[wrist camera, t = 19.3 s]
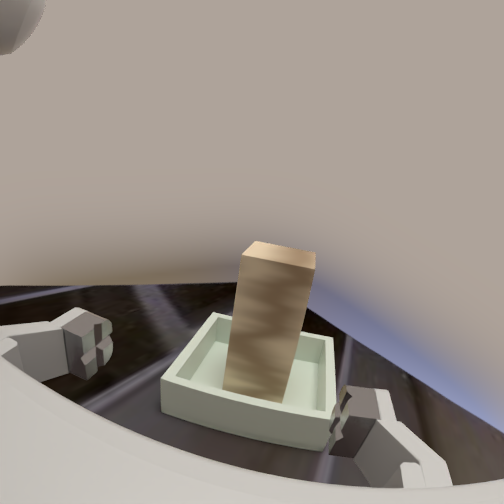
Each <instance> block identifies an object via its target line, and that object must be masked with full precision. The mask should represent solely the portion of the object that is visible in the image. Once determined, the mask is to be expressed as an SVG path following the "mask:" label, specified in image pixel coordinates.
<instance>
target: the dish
mask: <svg viewBox="0 0 504 504" xmlns="http://www.w3.org/2000/svg"><path fill="white" fill-rule="evenodd" d="M231 324H232V317H231V316H227V315H223V314H219V313H214V312H213V313H212V314H211V316H210V317H209V318H208V319H207V321H206V322H205V323H204V324H203V326H202V327H201V328H200V330H199V331H198V332H197V333H196V335H195V336H194V337H193V338H192V340H191V341H190V342H189V343H188V345H187V346H186V347H185V348H184V350H183V351H182V352H181V354H180V355H179V356H178V357H177V359H176V360H175V361H174V362H173V364H172V365H171V366H170V367H169V369H168V370H167V371H166V372H165V374H164V375H163V376H162V377H161V412H162V413H165V414H168V415H171V416H174V417H177V418H180V419H183V420H186V421H189V422H192V423H196V424H199V425H202V426H205V427H209V428H212V429H216V430H219V431H223V432H227V433H231V434H235V435H239V436H243V437H247V438H251V439H255V440H260V441H264V442H269V443H274V444H279V445H284V446H290V447H295V448H301V449H307V450H314V451H321V452H323V450H324V447H325V445H326V443H327V441H328V439H329V437H330V434H331V432H330V431H329V422H330V417H331V414H332V411H333V408H334V406H335V404H336V384H335V364H334V347H333V338H331V337H326V336H321V335H315V334H310V333H305V332H301V333H300V337H299V341H298V345H297V349H296V353H295V357H294V360H293V364H292V368H291V372H290V376H289V379H288V383H287V387H286V390H285V394H284V397H283V401H282V404H281V403H276V402H271V401H267V400H262V399H258V398H253V397H249V396H245V395H241V394H237V393H233V392H229V391H225V390H222V388H223V380H224V373H225V366H226V359H227V352H228V345H229V338H230V331H231Z"/></svg>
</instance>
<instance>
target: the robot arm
mask: <svg viewBox="0 0 504 504" xmlns="http://www.w3.org/2000/svg"><path fill="white" fill-rule="evenodd" d="M45 4H46V0H0V55H5V54H11V53H12V52H14V51H15V50H16V49H17V48H19V47H20V46H21V45H22V44H23V43H24V42H25V41H26V40H27V39H28V38H29V37H30V35H31V34H32V33H33V31H34V30H35V28H36V27H37V25H38V23H39V21H40V19H41V17H42V15H43V12H44V8H45ZM111 332H112V323H111V322H110V321H109V320H107V319H105V318H102V317H100V316H98V315H95V314H93V313H90V312H88V311H86V310H83V309H81V308H76V307H75V308H74V309H72V310H70V311H69V312H67V313H65V314H63V315H62V316H60V317H58V318H57V319H55V320H53V321H52V322H48V321H45V322H36V323H27V324H17V325H7V326H0V504H504V479H501V480H495V481H489V482H482V483H475V484H467V485H457V486H453V485H452V481H451V478H450V474H449V471H448V468H447V465H446V462H445V461H444V460H443V459H442V458H441V457H440V456H439V455H437V454H436V453H435V452H434V451H433V450H432V449H431V448H429V447H428V446H427V445H426V444H425V443H424V442H423V441H422V440H420V439H419V438H418V437H417V436H416V435H415V434H414V433H413V432H411V431H410V430H409V429H408V428H407V427H406V426H405V425H404V424H402V423H401V422H397V421H396V417H395V413H394V409H393V405H392V402H391V398H390V394H389V391H387V390H382V389H370V388H363V387H356V386H349V385H344V386H343V387H342V389H341V391H340V394H339V400H340V402H338V403H336V404H335V406H334V408H333V411H332V414H331V417H330V422H329V431H330V432H331V434H332V435H331V437H330V439H329V455H333V456H340V457H347V458H354V459H353V460H354V461H355V463H356V464H357V466H358V467H359V469H360V470H361V472H362V473H363V475H364V476H365V478H366V479H367V481H368V482H369V483H370V485H371V486H372V487H356V486H344V485H334V484H325V483H317V482H310V481H303V480H296V479H291V478H285V477H280V476H275V475H270V474H265V473H260V472H256V471H252V470H248V469H243V468H240V467H236V466H232V465H228V464H225V463H221V462H217V461H214V460H211V459H207V458H204V457H201V456H198V455H195V454H192V453H189V452H186V451H183V450H180V449H177V448H174V447H171V446H169V445H166V444H163V443H161V442H158V441H155V440H153V439H150V438H148V437H145V436H143V435H141V434H138V433H136V432H133V431H131V430H129V429H127V428H124V427H122V426H120V425H118V424H115V423H113V422H111V421H109V420H107V419H105V418H103V417H101V416H99V415H97V414H95V413H93V412H91V411H89V410H87V409H85V408H83V407H81V406H79V405H78V404H76V403H74V402H72V401H70V400H68V399H67V398H65V397H63V396H61V395H60V394H58V393H56V392H55V391H53V390H51V389H50V388H48V387H46V386H45V385H43V384H41V383H40V382H42V381H45V380H48V379H51V378H54V377H57V376H60V375H64V374H67V373H69V372H70V373H72V374H75V375H77V376H79V377H81V378H83V379H85V380H88V379H89V378H90V377H91V376H93V375H94V374H95V373H96V372H97V366H101V365H104V364H105V363H106V362H108V361H109V359H110V356H111V354H112V350H113V342H112V340H111V338H110V336H109V335H110V334H111Z"/></svg>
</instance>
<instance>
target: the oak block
mask: <svg viewBox="0 0 504 504" xmlns="http://www.w3.org/2000/svg"><path fill="white" fill-rule="evenodd" d="M314 271H315V253H314V252H309V251H304V250H299V249H294V248H289V247H284V246H279V245H274V244H268V243H263V242H258V241H255V242H254V243H253V244H252V245H251V246H250V247H249V248H248V249H247V250H246V251H245V252H244V253H243V254H242V256H241V262H240V269H239V276H238V283H237V289H236V296H235V303H234V310H233V317H232V324H231V331H230V338H229V345H228V352H227V359H226V366H225V373H224V380H223V388H222V390H225V391H229V392H233V393H237V394H241V395H245V396H249V397H253V398H258V399H262V400H267V401H271V402H276V403H281V404H282V401H283V397H284V394H285V390H286V387H287V383H288V379H289V376H290V372H291V368H292V364H293V360H294V357H295V353H296V349H297V345H298V341H299V337H300V333H301V329H302V325H303V320H304V316H305V312H306V308H307V303H308V299H309V295H310V290H311V286H312V281H313V276H314Z"/></svg>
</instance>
